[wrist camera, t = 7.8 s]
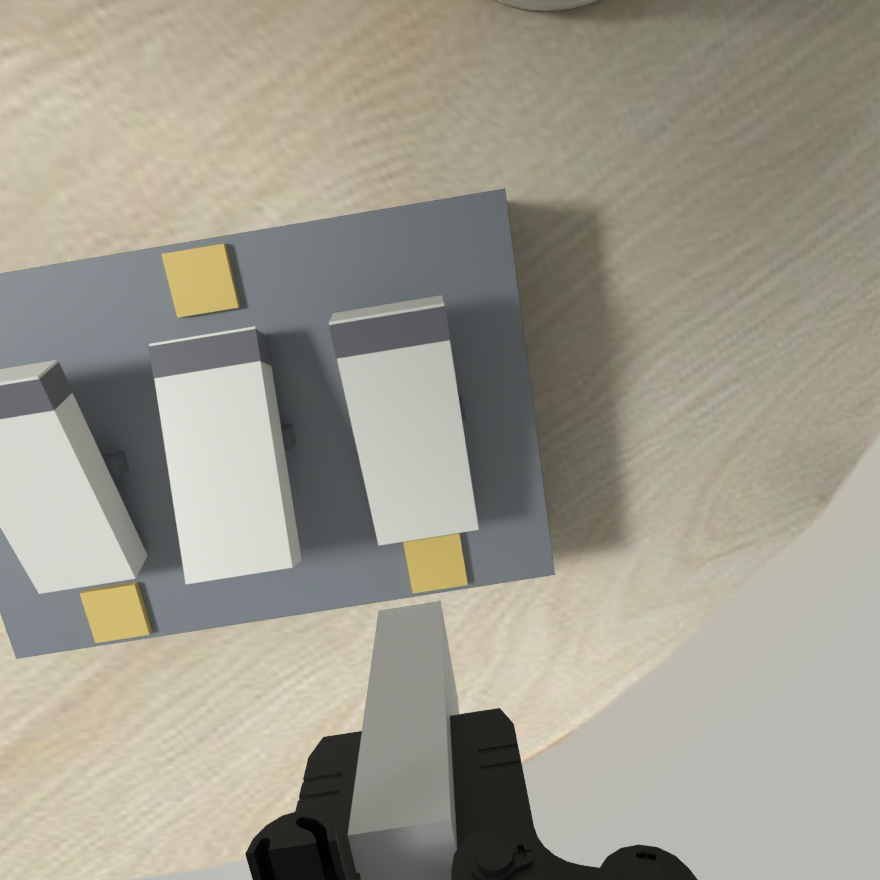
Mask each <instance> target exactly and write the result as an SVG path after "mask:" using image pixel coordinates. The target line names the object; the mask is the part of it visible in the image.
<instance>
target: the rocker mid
mask: <svg viewBox="0 0 880 880" xmlns="http://www.w3.org/2000/svg"><path fill="white" fill-rule="evenodd" d="M149 352H150V359H151V366H152V372H153V378H154V380H155V387H156V393H157V400H158V406H159V413H160V420H161V426H162V433H163V439H164V446H165V452H166V459H167V466H168V472H169V479H170V485H171V492H172V498H173V505H174V511H175V518H176V525H177V531H178V538H179V544H180V551H181V557H182V564H183V571H184V577H185V584H192V583H198V582H205V581H211V580H217V579H224V578H230V577H236V576H243V575H249V574H255V573H262V572H268V571H275V570H281V569H287V568H293V567H294V566H295V565H297V564H298V563H300V562H301V561H302V559H301V553H300V546H299V540H298V533H297V527H296V520H295V514H294V508H293V501H292V495H291V488H290V482H289V475H288V469H287V463H286V456H285V450H284V443H283V437H282V431H281V424H280V418H279V411H278V405H277V398H276V392H275V386H274V379H273V373H272V362H271V356H270V349H269V343H268V336H267V334H266V333H265V332H263V331H262V330H260V329H258V328H257V327H255V326H254V327H248V328H242V329H236V330H230V331H224V332H218V333H212V334H206V335H200V336H193V337H187V338H181V339H175V340H169V341H163V342H157V343H151V344H149Z"/></svg>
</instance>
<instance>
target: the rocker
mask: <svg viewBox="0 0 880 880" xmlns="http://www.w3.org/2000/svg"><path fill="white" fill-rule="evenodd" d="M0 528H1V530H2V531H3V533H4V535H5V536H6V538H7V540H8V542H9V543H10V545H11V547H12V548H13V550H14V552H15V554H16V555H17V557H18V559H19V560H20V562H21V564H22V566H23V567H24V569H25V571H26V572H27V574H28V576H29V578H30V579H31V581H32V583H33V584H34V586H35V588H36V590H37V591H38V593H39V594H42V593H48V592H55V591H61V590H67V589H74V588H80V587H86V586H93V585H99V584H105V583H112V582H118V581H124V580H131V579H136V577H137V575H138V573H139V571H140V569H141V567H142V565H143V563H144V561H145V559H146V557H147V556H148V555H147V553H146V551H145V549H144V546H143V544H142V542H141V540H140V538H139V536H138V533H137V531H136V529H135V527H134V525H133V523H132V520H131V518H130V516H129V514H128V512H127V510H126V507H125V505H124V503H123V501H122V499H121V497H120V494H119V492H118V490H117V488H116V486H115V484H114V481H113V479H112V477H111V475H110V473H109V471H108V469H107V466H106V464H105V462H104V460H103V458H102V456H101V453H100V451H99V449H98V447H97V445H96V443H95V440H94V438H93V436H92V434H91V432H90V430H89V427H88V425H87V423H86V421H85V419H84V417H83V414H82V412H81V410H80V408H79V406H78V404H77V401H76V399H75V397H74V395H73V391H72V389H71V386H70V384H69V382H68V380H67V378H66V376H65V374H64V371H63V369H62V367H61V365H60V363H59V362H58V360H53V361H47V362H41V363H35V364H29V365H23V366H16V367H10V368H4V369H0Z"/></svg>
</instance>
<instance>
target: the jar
mask: <svg viewBox="0 0 880 880" xmlns="http://www.w3.org/2000/svg"><path fill="white" fill-rule="evenodd" d="M494 1H497V2H499V3H502V4H505V5H508V6H512V7H516V8H521V9H526V10H535V11H556V10H565V9H571V8H576V7H580V6H584V5H587V4H590V3H593V2H596V1H599V0H494Z"/></svg>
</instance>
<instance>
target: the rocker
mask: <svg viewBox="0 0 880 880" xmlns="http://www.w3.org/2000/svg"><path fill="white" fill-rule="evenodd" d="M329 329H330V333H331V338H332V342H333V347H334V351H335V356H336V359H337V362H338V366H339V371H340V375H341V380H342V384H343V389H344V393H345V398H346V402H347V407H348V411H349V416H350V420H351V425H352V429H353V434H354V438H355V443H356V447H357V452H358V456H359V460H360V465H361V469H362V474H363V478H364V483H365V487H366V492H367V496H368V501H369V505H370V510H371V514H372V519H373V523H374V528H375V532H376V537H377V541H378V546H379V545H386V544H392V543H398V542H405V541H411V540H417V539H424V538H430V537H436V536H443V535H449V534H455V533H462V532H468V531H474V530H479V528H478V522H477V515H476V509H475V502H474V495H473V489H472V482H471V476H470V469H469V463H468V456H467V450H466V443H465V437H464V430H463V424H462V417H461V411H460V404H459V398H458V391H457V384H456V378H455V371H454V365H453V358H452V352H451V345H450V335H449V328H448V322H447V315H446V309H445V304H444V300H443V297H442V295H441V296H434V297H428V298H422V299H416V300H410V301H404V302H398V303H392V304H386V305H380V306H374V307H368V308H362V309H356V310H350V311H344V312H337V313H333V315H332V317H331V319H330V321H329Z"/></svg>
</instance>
